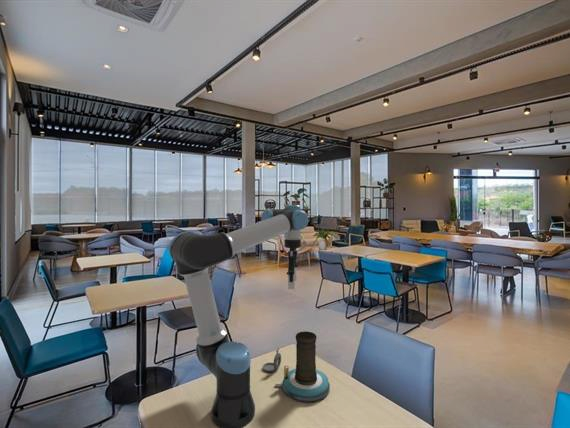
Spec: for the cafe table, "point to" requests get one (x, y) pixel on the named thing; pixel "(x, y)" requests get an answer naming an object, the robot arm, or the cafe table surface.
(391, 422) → the cafe table surface
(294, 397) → the turntable base
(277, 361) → the pocket watch
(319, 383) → the turntable
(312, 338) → the container
